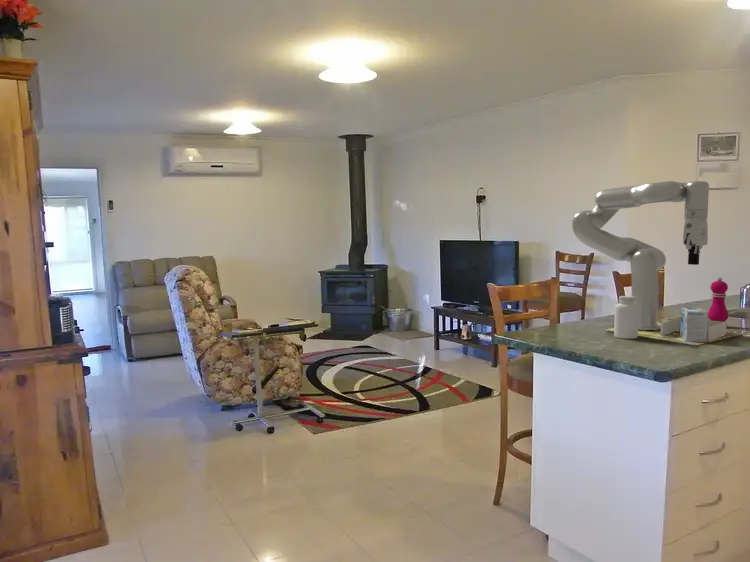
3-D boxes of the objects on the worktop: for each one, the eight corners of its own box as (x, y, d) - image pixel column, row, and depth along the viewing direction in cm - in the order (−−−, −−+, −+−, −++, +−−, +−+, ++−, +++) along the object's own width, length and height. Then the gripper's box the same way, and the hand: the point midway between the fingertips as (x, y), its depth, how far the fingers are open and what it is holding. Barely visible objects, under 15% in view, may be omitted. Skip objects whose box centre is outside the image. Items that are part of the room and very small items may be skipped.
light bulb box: (679, 336, 212) (680, 307, 212) (699, 336, 210) (701, 307, 210) (686, 341, 202) (687, 310, 201) (707, 342, 200) (708, 311, 199)
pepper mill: (703, 325, 234) (705, 276, 232) (714, 324, 237) (716, 276, 235) (720, 328, 227) (722, 278, 226) (732, 327, 230) (734, 277, 229)
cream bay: (709, 341, 201) (710, 327, 201) (660, 335, 213) (660, 322, 213) (725, 335, 212) (726, 322, 212) (678, 330, 225) (678, 317, 224)
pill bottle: (635, 335, 213) (636, 295, 212) (639, 339, 206) (640, 298, 204) (612, 335, 216) (613, 295, 214) (615, 338, 208) (616, 297, 207)
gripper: (697, 214, 206) (694, 265, 208) (715, 215, 215) (712, 264, 217) (675, 215, 212) (673, 264, 214) (694, 215, 221) (692, 263, 223)
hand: (693, 264), depth 215 cm, fingers closed
